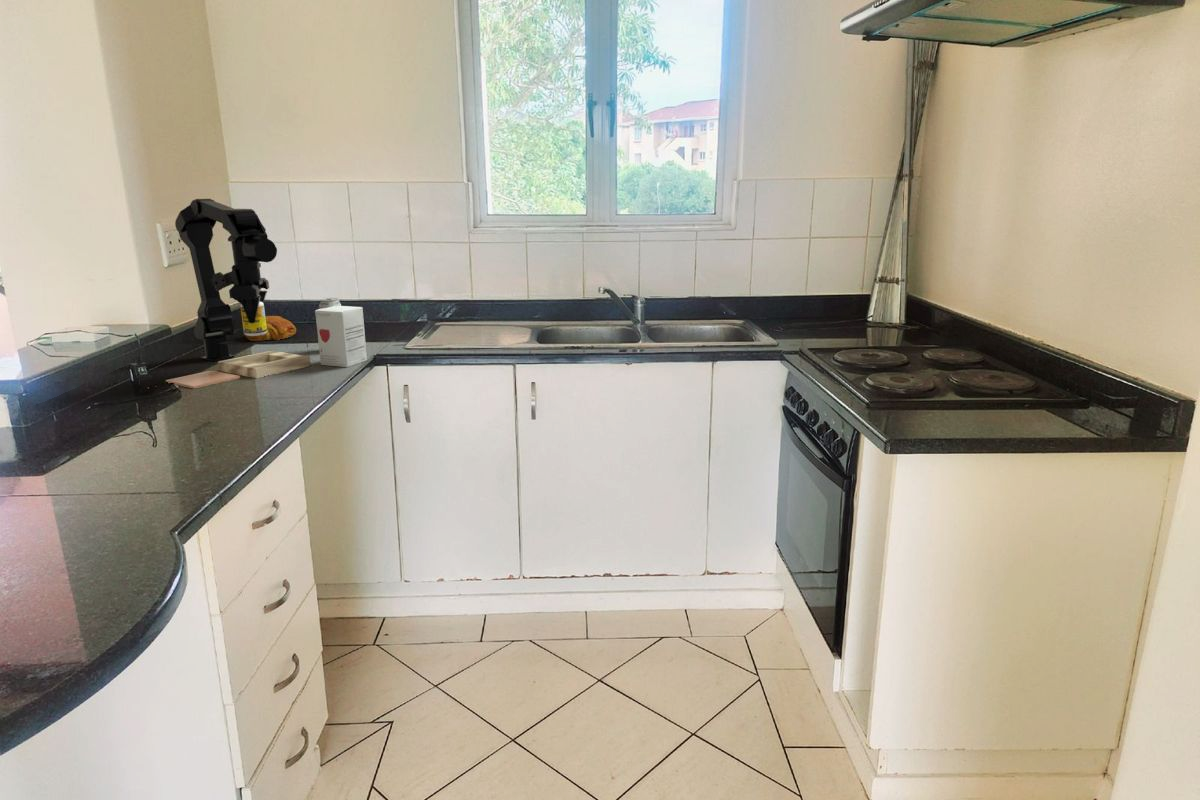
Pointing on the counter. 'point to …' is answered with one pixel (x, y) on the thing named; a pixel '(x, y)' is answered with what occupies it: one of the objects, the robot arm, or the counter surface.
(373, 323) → the counter surface
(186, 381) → the terracotta tile
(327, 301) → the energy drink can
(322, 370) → the counter surface
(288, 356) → the board
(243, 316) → the supplement bottle
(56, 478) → the counter surface
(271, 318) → the croissant
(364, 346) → the supplement box
